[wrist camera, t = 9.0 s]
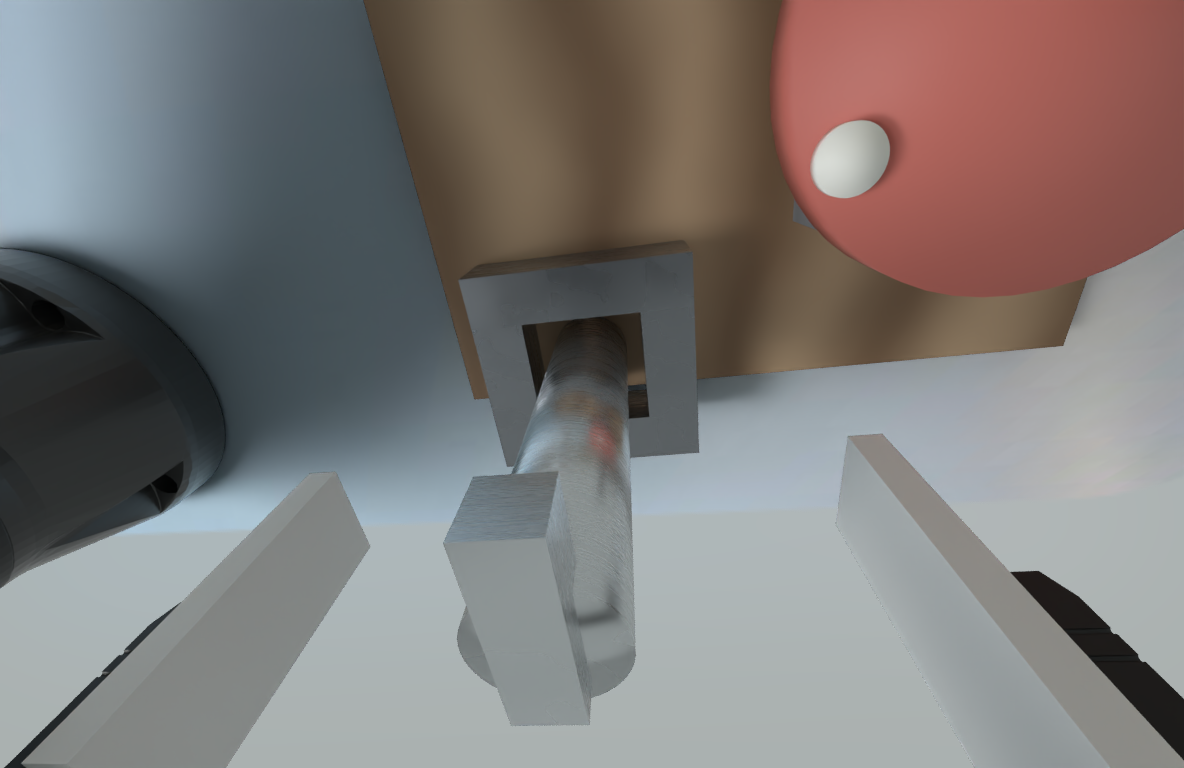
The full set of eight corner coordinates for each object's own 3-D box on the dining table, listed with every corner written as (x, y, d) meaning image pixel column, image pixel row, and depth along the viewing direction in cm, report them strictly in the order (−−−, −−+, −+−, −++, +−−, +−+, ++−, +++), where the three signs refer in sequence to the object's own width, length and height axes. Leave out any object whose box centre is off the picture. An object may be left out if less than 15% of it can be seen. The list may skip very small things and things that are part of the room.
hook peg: (562, 384, 21) (470, 744, 8) (543, 279, 19) (380, 546, 6) (630, 377, 21) (644, 743, 8) (618, 270, 19) (613, 534, 6)
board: (482, 385, 23) (454, 433, 19) (378, -9, 16) (300, -61, 12) (1034, 333, 21) (1133, 376, 17) (1194, -168, 14) (1433, -301, 10)
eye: (518, 436, 23) (507, 466, 21) (476, 265, 19) (458, 279, 17) (690, 422, 22) (698, 452, 20) (683, 239, 18) (692, 251, 16)
